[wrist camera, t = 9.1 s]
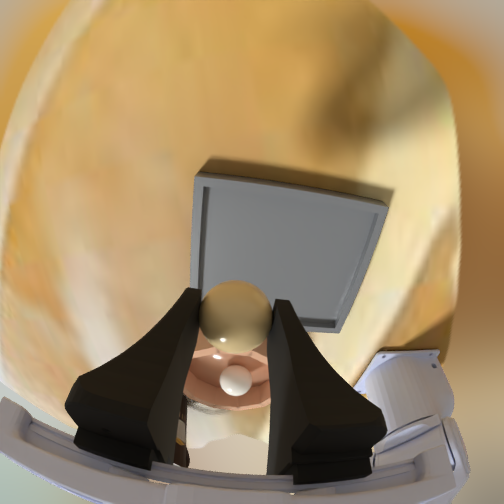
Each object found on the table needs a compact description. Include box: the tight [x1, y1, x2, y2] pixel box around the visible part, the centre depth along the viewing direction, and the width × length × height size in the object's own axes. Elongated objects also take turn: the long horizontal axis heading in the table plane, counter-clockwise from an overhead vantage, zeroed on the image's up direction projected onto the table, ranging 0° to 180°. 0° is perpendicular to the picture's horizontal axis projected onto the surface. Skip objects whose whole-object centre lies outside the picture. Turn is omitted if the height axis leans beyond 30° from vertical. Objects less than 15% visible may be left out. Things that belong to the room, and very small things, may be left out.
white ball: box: [220, 365, 252, 396], centre depth 26 cm, size 3×3×3 cm
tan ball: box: [199, 280, 273, 354], centre depth 12 cm, size 3×3×3 cm
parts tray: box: [190, 172, 389, 333], centre depth 21 cm, size 13×12×1 cm
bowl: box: [183, 328, 271, 411], centre depth 26 cm, size 11×11×3 cm
